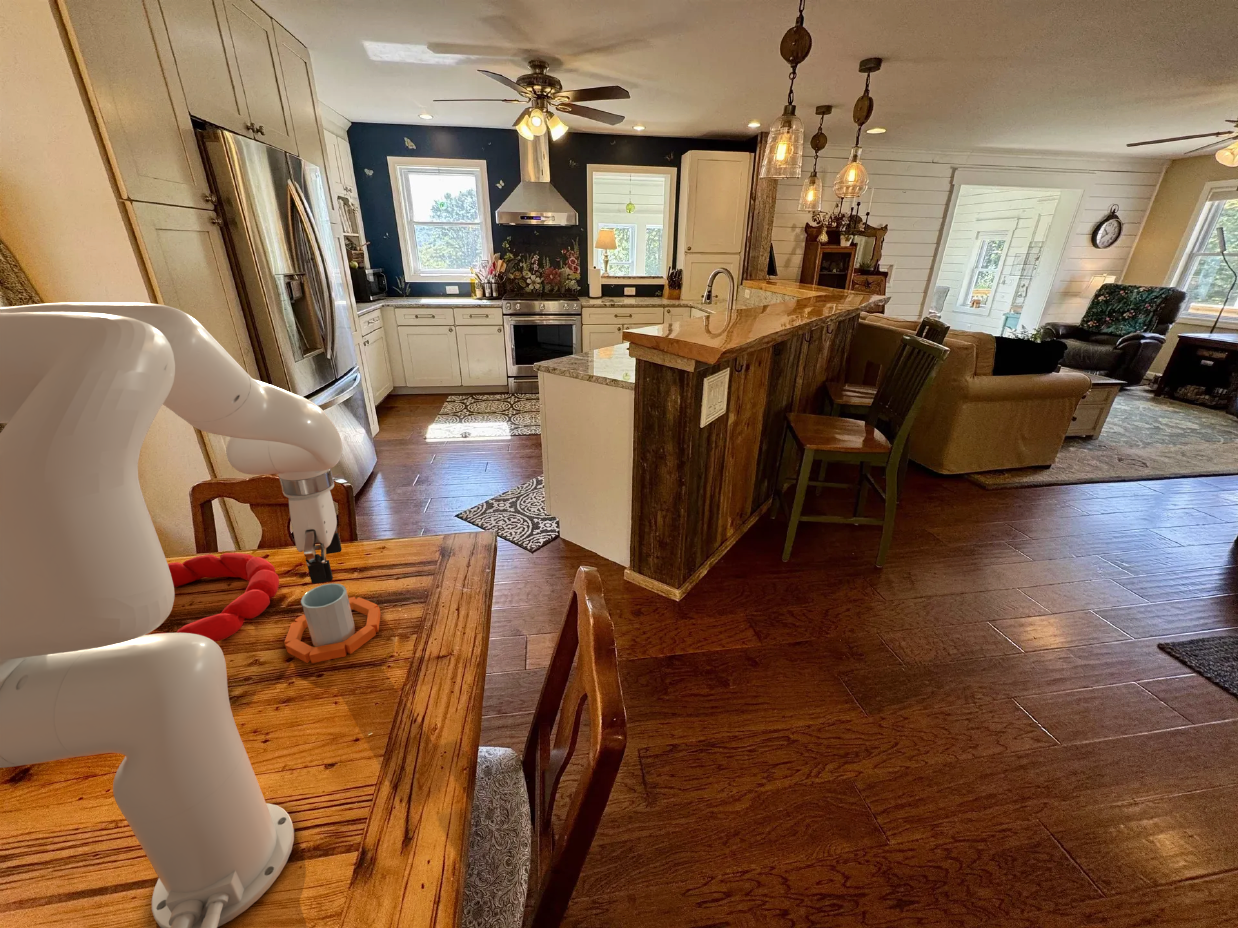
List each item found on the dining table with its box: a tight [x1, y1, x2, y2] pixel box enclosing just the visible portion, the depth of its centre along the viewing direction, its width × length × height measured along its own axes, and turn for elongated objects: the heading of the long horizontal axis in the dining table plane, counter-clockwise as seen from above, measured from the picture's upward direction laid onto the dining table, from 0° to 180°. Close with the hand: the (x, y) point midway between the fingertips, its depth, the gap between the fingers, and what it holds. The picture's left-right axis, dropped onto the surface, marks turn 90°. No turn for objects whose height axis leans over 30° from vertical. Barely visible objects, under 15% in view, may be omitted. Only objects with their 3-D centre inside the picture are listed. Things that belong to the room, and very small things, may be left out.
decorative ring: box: [156, 552, 280, 643], centre depth 93 cm, size 7×30×30 cm
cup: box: [300, 582, 356, 647], centre depth 87 cm, size 7×7×9 cm
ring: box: [283, 596, 382, 664], centre depth 90 cm, size 15×15×2 cm
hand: (327, 566), depth 90 cm, fingers open, 9 cm apart
